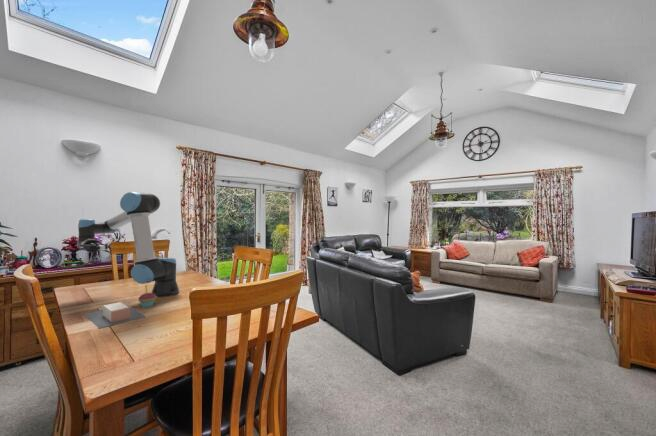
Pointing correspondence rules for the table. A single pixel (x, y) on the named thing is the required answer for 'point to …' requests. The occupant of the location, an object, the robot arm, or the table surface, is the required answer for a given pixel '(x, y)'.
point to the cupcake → (147, 299)
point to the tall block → (116, 311)
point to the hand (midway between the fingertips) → (103, 248)
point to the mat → (104, 322)
